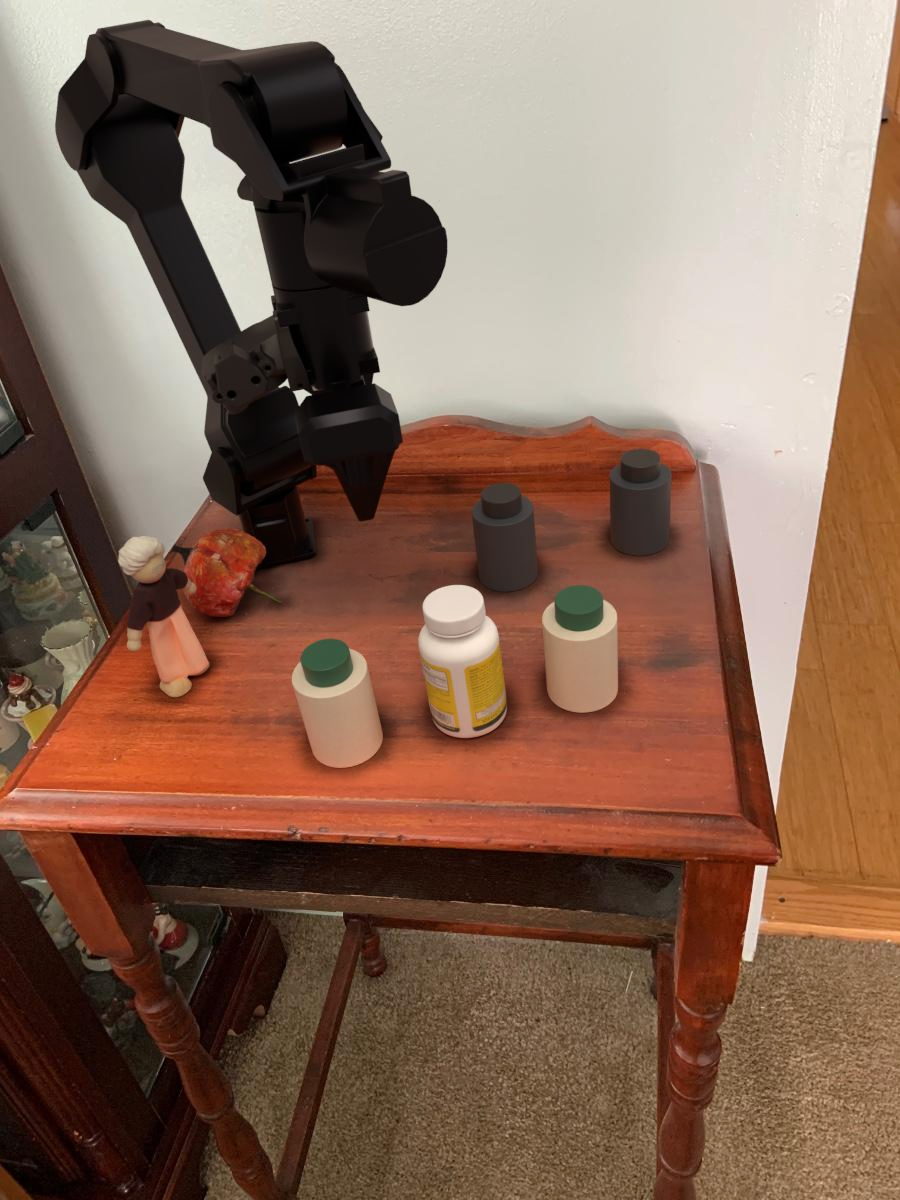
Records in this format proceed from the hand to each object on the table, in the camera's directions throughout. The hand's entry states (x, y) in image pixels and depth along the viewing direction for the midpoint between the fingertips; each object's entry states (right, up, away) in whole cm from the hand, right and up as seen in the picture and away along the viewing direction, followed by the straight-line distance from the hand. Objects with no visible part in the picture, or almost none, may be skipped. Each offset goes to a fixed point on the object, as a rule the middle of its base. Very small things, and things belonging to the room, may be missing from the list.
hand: (358, 488), depth 67 cm
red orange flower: (-11, -9, +11) cm, 18 cm away
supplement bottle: (+8, -16, -3) cm, 19 cm away
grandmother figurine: (-14, -14, +4) cm, 20 cm away
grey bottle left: (+12, -6, +10) cm, 16 cm away
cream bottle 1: (0, -18, -4) cm, 19 cm away
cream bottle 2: (+16, -15, -3) cm, 22 cm away
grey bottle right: (+23, -3, +12) cm, 26 cm away
